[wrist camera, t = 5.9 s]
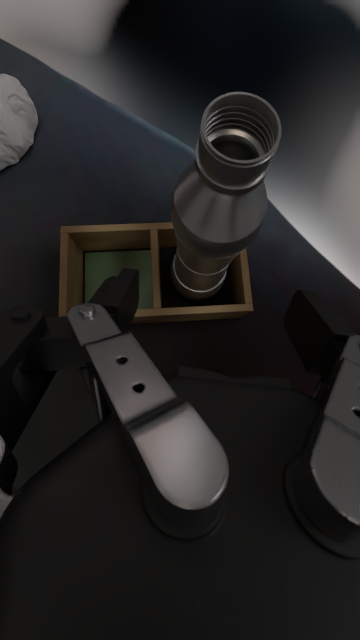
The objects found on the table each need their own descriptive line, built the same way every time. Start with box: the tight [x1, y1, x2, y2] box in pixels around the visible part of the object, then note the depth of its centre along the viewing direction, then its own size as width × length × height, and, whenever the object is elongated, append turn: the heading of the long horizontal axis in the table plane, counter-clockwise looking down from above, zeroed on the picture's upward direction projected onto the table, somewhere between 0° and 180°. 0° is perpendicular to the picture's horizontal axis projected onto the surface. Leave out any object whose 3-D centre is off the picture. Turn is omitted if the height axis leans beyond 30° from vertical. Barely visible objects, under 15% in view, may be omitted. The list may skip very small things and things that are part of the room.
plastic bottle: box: [170, 92, 282, 301], centre depth 20 cm, size 6×7×20 cm
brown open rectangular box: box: [59, 222, 253, 324], centre depth 27 cm, size 20×11×4 cm, turn 93°
